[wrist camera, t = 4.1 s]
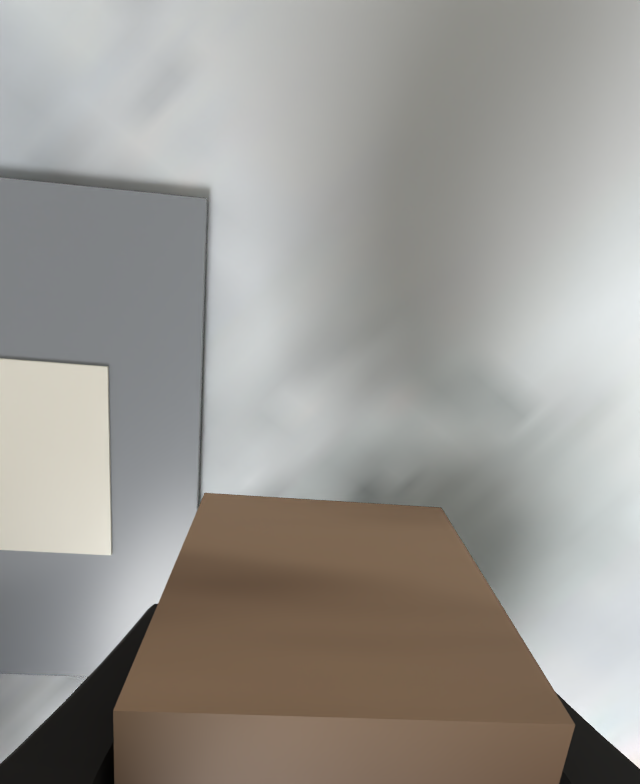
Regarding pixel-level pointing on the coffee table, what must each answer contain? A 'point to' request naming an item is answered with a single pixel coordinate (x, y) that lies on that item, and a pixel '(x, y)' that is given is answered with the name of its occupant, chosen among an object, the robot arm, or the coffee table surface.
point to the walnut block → (333, 657)
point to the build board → (94, 413)
